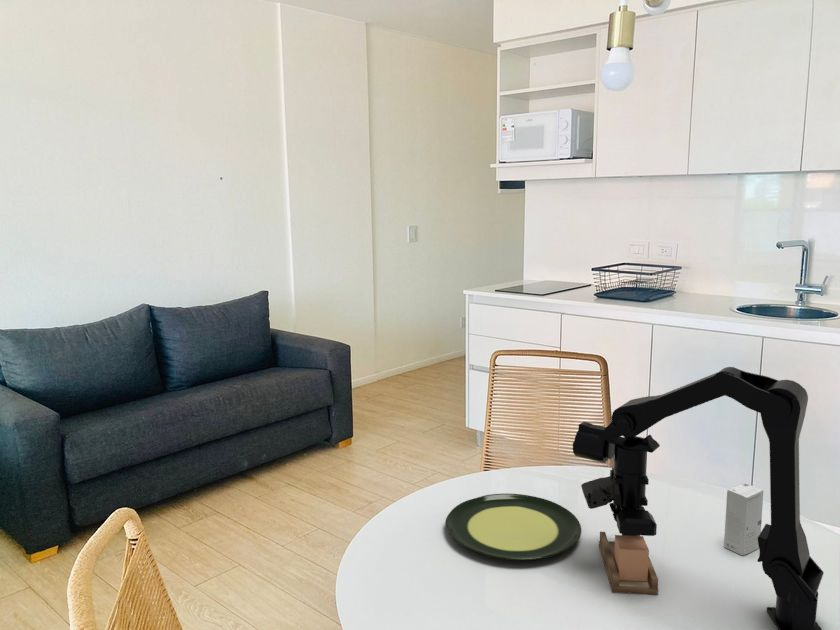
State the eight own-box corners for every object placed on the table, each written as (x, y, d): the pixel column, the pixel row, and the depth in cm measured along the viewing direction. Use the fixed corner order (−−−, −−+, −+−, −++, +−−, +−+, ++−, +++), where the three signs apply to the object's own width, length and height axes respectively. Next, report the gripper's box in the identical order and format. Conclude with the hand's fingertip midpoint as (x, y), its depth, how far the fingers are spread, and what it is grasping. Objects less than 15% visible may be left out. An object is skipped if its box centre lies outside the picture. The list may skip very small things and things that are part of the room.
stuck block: (647, 581, 117) (649, 550, 116) (618, 579, 118) (619, 549, 117) (641, 566, 122) (642, 536, 121) (613, 564, 123) (615, 534, 122)
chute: (657, 594, 115) (658, 579, 115) (612, 592, 116) (612, 576, 116) (639, 547, 131) (639, 533, 131) (598, 545, 132) (599, 531, 132)
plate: (451, 572, 124) (451, 560, 123) (441, 504, 151) (441, 494, 151) (598, 567, 125) (598, 555, 124) (562, 500, 152) (562, 490, 152)
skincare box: (743, 556, 127) (748, 498, 125) (721, 546, 131) (725, 489, 129) (761, 547, 130) (765, 490, 128) (739, 537, 134) (743, 482, 132)
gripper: (579, 448, 131) (577, 520, 134) (591, 488, 113) (589, 571, 116) (637, 449, 130) (634, 523, 133) (659, 491, 112) (655, 575, 115)
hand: (626, 546), depth 124 cm, fingers closed
